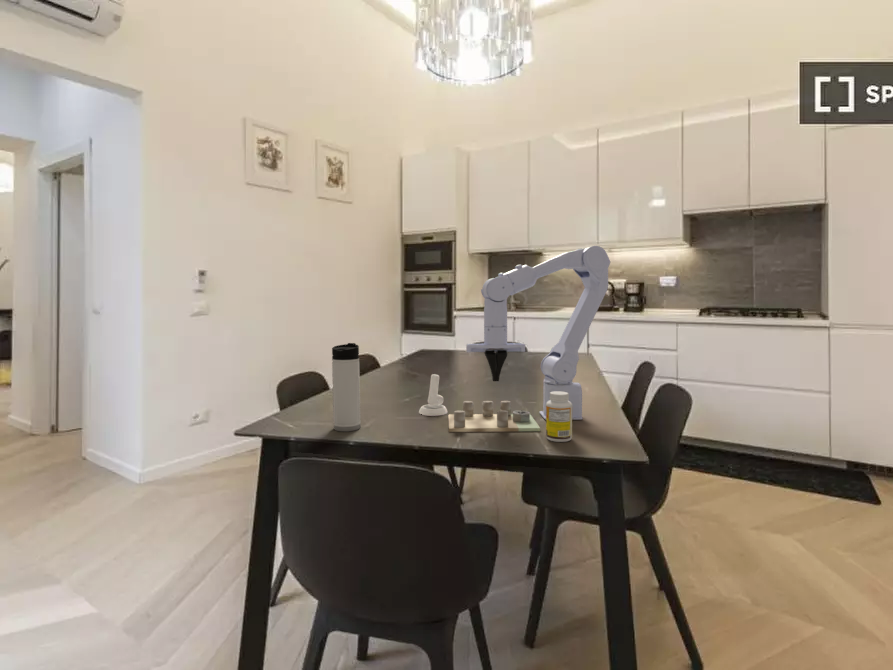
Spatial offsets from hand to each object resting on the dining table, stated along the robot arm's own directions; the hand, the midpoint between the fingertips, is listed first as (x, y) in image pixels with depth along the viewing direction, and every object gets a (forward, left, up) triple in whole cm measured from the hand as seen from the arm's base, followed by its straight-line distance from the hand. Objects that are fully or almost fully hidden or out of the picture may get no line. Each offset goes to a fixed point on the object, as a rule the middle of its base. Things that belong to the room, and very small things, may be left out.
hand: (495, 380), depth 132 cm
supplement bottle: (-12, +18, -10) cm, 24 cm away
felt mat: (-7, +5, -10) cm, 13 cm away
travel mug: (+36, +8, -10) cm, 38 cm away
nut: (-6, +4, -9) cm, 12 cm away
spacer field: (+4, +5, -10) cm, 12 cm away
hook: (+16, -8, -10) cm, 21 cm away
